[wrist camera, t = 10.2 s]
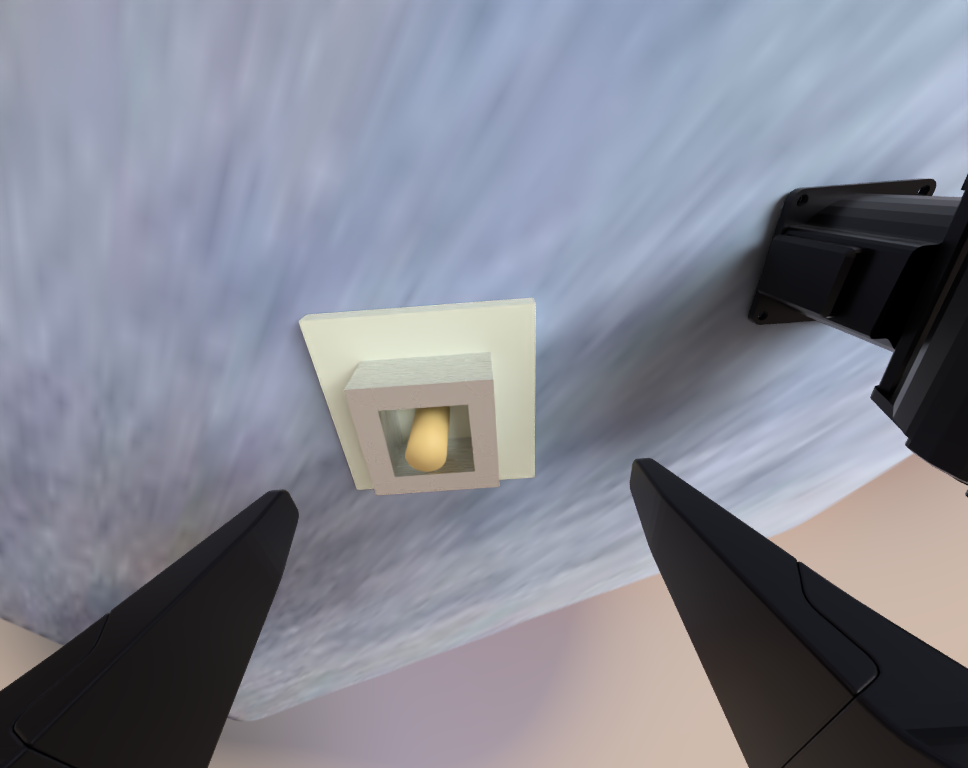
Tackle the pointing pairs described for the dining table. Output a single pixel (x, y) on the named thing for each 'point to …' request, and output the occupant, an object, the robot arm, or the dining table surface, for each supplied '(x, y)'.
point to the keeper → (433, 333)
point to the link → (420, 386)
